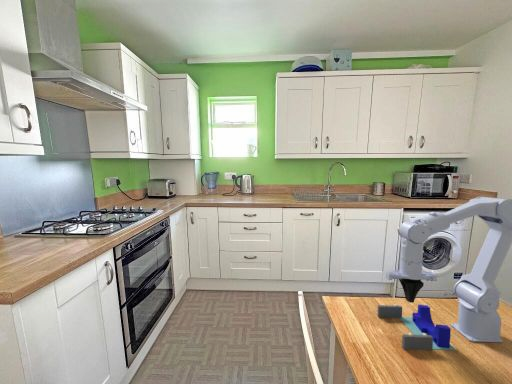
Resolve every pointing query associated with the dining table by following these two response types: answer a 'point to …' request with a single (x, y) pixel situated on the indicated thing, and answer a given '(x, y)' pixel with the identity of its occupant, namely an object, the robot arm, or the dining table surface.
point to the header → (407, 340)
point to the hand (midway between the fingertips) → (409, 300)
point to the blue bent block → (431, 327)
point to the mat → (416, 331)
